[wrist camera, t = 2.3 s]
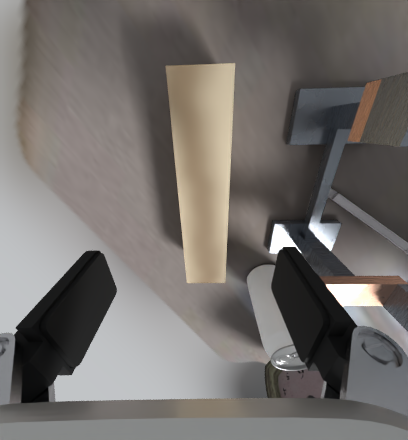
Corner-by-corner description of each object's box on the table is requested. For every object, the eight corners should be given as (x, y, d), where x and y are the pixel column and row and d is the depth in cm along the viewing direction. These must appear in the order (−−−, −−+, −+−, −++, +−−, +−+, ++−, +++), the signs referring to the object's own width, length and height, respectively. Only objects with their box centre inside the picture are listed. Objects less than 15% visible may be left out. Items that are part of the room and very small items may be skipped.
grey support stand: (386, 87, 18) (719, 17, 6) (326, 248, 27) (413, 338, 16) (295, 90, 18) (454, 28, 6) (267, 249, 27) (310, 338, 16)
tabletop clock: (313, 316, 35) (494, 641, 13) (335, 334, 38) (515, 627, 16) (255, 344, 40) (314, 612, 18) (278, 358, 43) (354, 605, 21)
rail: (226, 81, 18) (235, 63, 13) (221, 253, 28) (225, 282, 23) (177, 83, 18) (165, 65, 13) (190, 253, 28) (186, 283, 23)
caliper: (416, 251, 28) (468, 283, 22) (409, 256, 28) (459, 288, 22) (325, 184, 23) (364, 204, 17) (319, 191, 23) (354, 212, 18)
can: (238, 276, 30) (255, 357, 20) (270, 256, 28) (309, 335, 17) (260, 295, 32) (286, 377, 22) (291, 278, 30) (337, 360, 20)
